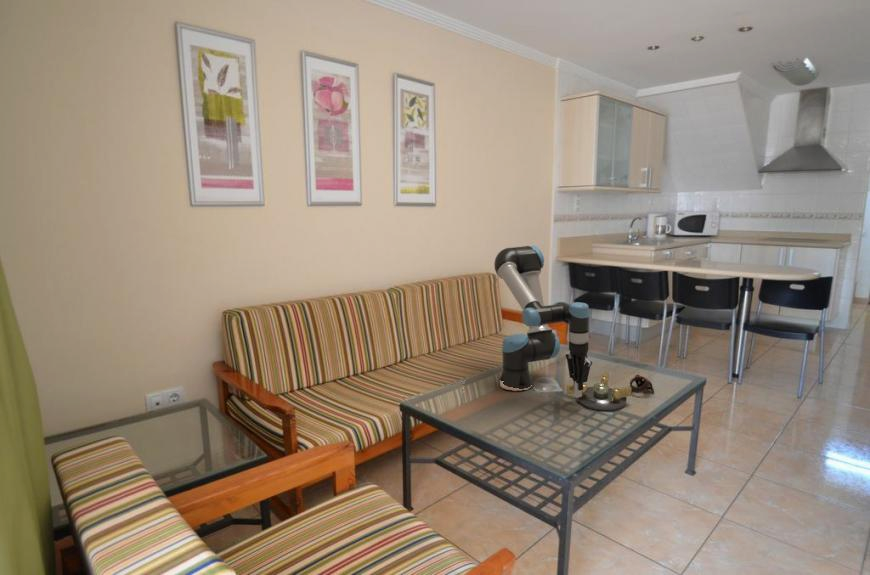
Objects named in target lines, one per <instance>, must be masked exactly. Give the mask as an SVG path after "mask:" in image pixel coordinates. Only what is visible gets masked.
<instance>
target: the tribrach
mask: <svg viewBox="0 0 870 575" xmlns="http://www.w3.org/2000/svg"><path fill="white" fill-rule="evenodd" d="M613 389H614V388H611V387H610V386H609V385H606V384H603V383H601V382H600V383H599V382H598V383H597V382H596V383H594V384H593V386H587V397H578V398H576V397H575V400H576V402H577V403H578V404H579V405H580V406H582V407H583V408H586V409H588V410H591V411H597V412H598V411H599V412H616V411H620V410H622V409H624V408H625V407H626V406H627V397H622V398H620V402H619V403H615V402H613V401H612V394H613Z"/></svg>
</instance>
